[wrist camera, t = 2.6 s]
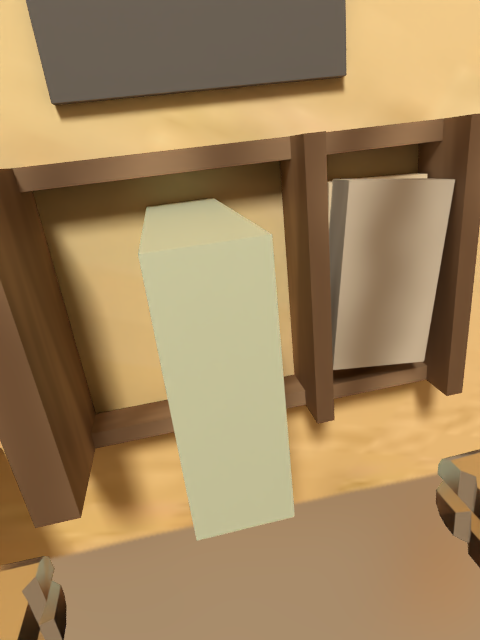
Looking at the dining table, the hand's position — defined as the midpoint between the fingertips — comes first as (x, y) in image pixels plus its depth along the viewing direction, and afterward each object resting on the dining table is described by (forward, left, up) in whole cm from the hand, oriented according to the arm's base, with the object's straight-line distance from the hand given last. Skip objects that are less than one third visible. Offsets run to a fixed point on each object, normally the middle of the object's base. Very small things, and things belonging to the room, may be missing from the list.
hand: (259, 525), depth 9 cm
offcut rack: (-3, 0, -16) cm, 17 cm away
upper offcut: (-10, 0, -15) cm, 18 cm away
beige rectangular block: (0, 0, -16) cm, 16 cm away
